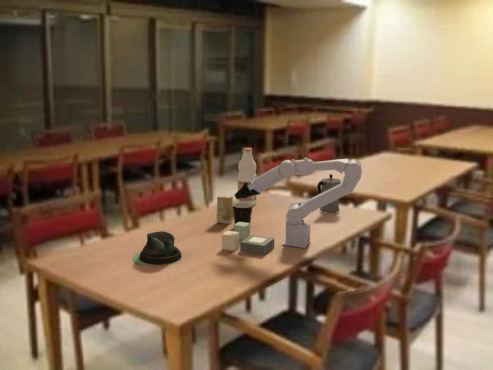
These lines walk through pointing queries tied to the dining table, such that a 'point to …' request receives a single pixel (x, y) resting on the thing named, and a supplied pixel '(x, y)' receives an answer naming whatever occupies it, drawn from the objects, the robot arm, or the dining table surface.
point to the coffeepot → (326, 185)
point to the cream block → (230, 240)
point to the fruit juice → (246, 173)
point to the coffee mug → (242, 212)
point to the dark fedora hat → (158, 250)
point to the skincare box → (224, 209)
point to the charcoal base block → (257, 244)
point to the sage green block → (242, 230)
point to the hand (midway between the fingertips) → (238, 196)
